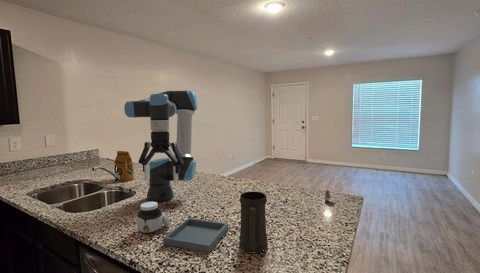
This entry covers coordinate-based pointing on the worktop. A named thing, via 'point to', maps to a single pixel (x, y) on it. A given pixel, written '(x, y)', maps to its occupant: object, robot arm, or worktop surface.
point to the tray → (196, 235)
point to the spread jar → (151, 218)
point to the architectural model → (327, 196)
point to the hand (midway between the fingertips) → (161, 180)
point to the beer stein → (253, 222)
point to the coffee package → (124, 166)
